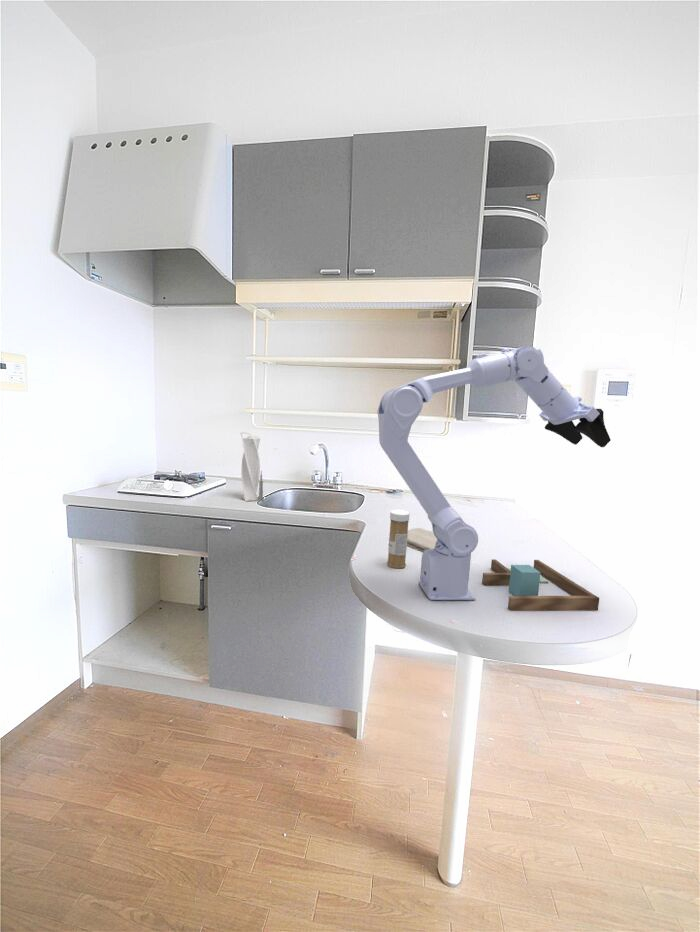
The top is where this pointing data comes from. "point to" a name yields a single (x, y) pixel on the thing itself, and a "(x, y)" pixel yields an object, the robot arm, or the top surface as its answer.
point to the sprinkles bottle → (398, 538)
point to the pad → (540, 578)
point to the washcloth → (421, 539)
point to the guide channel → (576, 601)
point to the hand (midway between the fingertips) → (591, 442)
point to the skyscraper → (251, 469)
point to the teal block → (524, 580)
